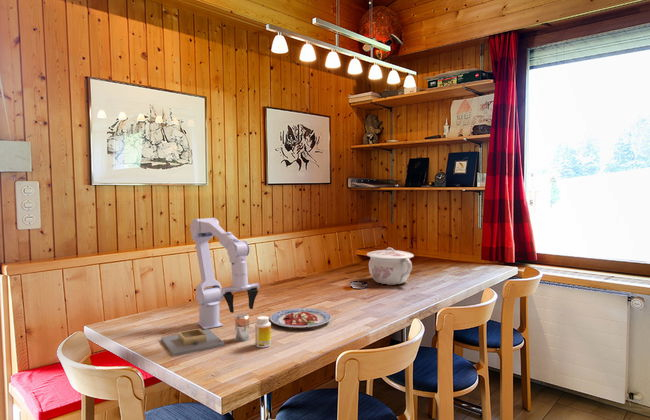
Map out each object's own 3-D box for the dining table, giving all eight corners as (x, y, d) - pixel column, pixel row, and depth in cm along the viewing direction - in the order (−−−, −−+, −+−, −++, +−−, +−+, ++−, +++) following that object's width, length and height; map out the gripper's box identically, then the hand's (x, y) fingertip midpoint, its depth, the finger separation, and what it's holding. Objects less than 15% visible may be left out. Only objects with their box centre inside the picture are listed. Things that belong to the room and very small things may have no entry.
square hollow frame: (177, 337, 166) (176, 331, 166) (199, 333, 171) (198, 327, 170) (184, 346, 157) (184, 340, 157) (207, 342, 162) (207, 335, 161)
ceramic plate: (262, 316, 196) (262, 310, 196) (317, 310, 206) (317, 303, 206) (280, 335, 172) (280, 328, 172) (341, 327, 183) (341, 320, 182)
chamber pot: (367, 276, 277) (367, 243, 275) (412, 278, 273) (412, 244, 272) (364, 287, 249) (365, 250, 248) (415, 289, 245) (415, 251, 244)
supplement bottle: (274, 345, 162) (274, 317, 161) (262, 349, 158) (261, 320, 157) (264, 341, 166) (264, 314, 165) (252, 345, 162) (252, 317, 161)
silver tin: (233, 338, 169) (233, 314, 168) (246, 335, 171) (245, 312, 171) (238, 342, 164) (238, 318, 164) (251, 339, 167) (251, 316, 167)
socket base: (161, 340, 167) (161, 337, 167) (208, 331, 176) (208, 328, 176) (173, 356, 152) (173, 353, 151) (224, 345, 161) (224, 343, 161)
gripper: (224, 277, 160) (226, 315, 160) (261, 272, 167) (263, 309, 168) (218, 275, 166) (219, 312, 166) (254, 270, 173) (256, 305, 174)
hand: (241, 310), depth 167 cm, fingers open, 7 cm apart
